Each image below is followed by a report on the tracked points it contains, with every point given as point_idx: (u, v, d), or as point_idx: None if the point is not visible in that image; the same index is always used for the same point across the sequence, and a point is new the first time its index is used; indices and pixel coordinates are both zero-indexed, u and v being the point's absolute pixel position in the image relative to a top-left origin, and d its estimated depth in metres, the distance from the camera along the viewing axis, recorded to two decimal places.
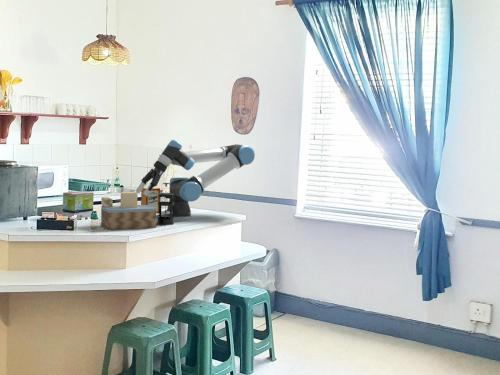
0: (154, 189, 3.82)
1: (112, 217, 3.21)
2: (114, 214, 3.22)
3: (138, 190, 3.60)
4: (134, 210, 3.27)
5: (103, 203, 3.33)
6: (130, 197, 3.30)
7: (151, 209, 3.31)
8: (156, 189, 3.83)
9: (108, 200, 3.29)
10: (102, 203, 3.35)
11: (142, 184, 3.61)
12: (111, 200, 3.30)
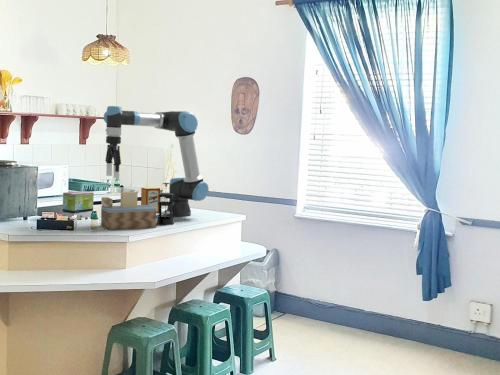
0: (154, 189, 3.82)
1: (112, 217, 3.21)
2: (114, 214, 3.22)
3: (109, 173, 3.29)
4: (134, 210, 3.27)
5: (103, 203, 3.33)
6: (130, 197, 3.30)
7: (151, 209, 3.31)
8: (156, 189, 3.83)
9: (108, 200, 3.29)
10: (102, 203, 3.35)
11: (108, 165, 3.28)
12: (111, 200, 3.30)
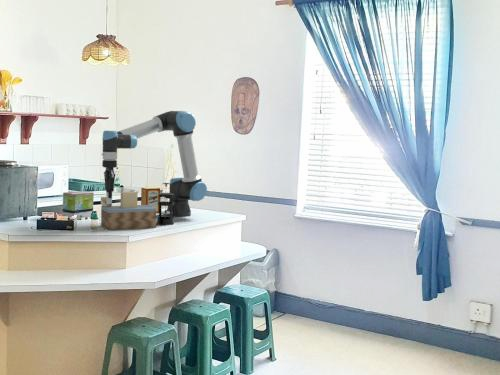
0: (154, 189, 3.82)
1: (112, 217, 3.21)
2: (114, 214, 3.22)
3: None
4: (134, 210, 3.27)
5: (102, 203, 3.34)
6: (130, 197, 3.30)
7: (151, 209, 3.31)
8: (156, 189, 3.83)
9: None
10: (101, 203, 3.36)
11: None
12: None
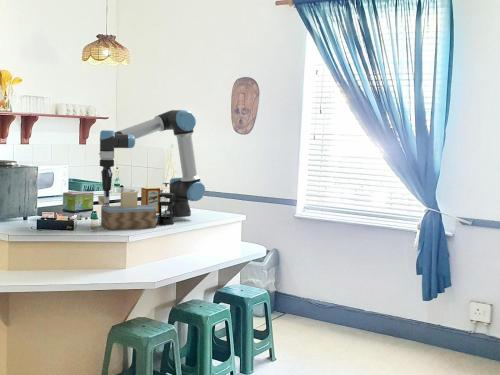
0: (154, 189, 3.82)
1: (112, 217, 3.21)
2: (114, 214, 3.22)
3: None
4: (134, 210, 3.27)
5: (100, 201, 3.39)
6: (130, 197, 3.30)
7: (151, 209, 3.31)
8: (156, 189, 3.83)
9: None
10: (99, 201, 3.40)
11: None
12: None
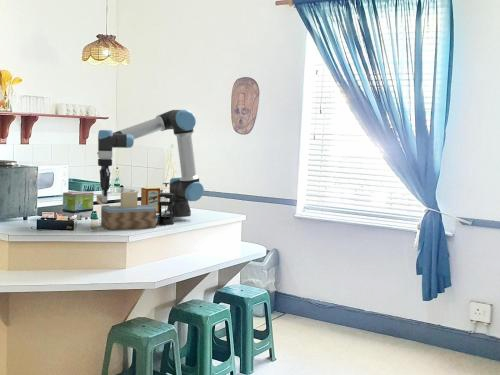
0: (154, 189, 3.82)
1: (112, 217, 3.21)
2: (114, 214, 3.22)
3: None
4: (134, 210, 3.27)
5: (98, 201, 3.42)
6: (130, 197, 3.30)
7: (151, 209, 3.31)
8: (156, 189, 3.83)
9: None
10: (97, 201, 3.43)
11: None
12: None
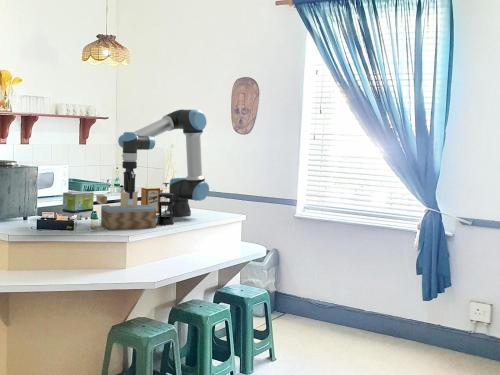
0: (154, 189, 3.82)
1: (112, 217, 3.21)
2: (114, 214, 3.22)
3: None
4: (134, 210, 3.27)
5: (98, 201, 3.42)
6: None
7: (151, 209, 3.31)
8: (156, 189, 3.83)
9: (103, 198, 3.38)
10: (97, 201, 3.44)
11: None
12: (106, 198, 3.39)
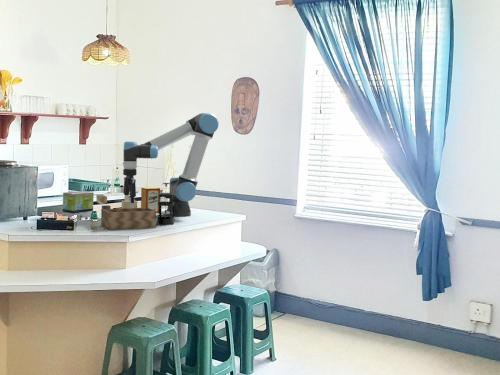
0: (154, 189, 3.82)
1: (112, 217, 3.21)
2: (114, 214, 3.22)
3: None
4: None
5: (98, 201, 3.42)
6: None
7: None
8: (156, 189, 3.83)
9: (103, 198, 3.38)
10: (97, 201, 3.44)
11: (126, 197, 3.60)
12: (106, 198, 3.39)
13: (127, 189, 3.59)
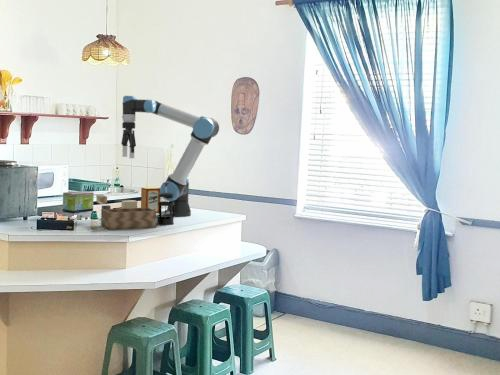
0: (154, 189, 3.82)
1: (112, 217, 3.21)
2: (114, 214, 3.22)
3: (124, 154, 3.76)
4: None
5: (98, 201, 3.42)
6: (130, 205, 3.56)
7: None
8: (156, 189, 3.83)
9: (103, 198, 3.38)
10: (97, 201, 3.44)
11: (124, 147, 3.75)
12: (106, 198, 3.39)
13: (125, 141, 3.74)
